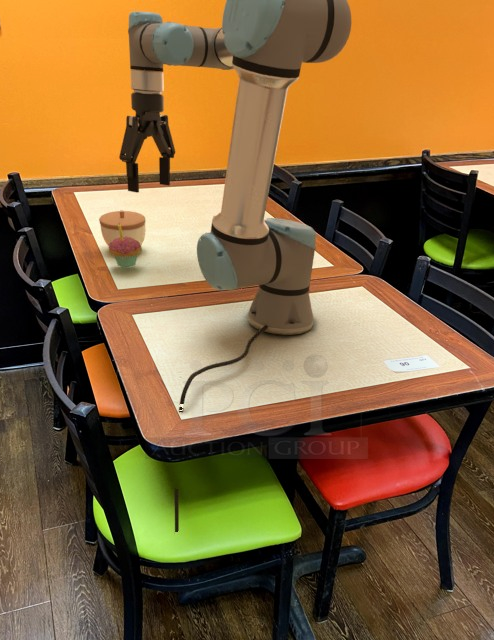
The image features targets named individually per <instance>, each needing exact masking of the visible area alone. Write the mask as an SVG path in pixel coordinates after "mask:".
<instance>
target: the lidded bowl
mask: <svg viewBox="0 0 494 640" xmlns="http://www.w3.org/2000/svg"><path fill="white" fill-rule="evenodd" d="M98 221H99V224H100V231H101V235H102V237H103V238H102V239H103V241H104V242H105V244H106V245H107V247H109V244H110V242H112V241H113V240H114V239H116V238H119V237H120V233H119V227H118V225H119V224H120V225H121V229H122V235H123V237H126V236H127V237H130V238H133V239H135V240H137V241H138V242H139V243H140V245H141V246H142V245H143V244H144V241H145V238H146V216H145V215H143V214H142V213H139V212H136V211H132V210H131V211H130V210H121V209H120V210H116V211H115V210H114V211H110V212H107V213H104V214H101V215H100V217H99V219H98ZM118 222H119V223H118Z"/></svg>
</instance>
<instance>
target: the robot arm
mask: <svg viewBox="0 0 494 640" xmlns="http://www.w3.org/2000/svg"><path fill="white" fill-rule="evenodd" d="M221 20H222V21H221V26H222V27H218V28H211V27H202V26H195V25H187V24H181V23H179V22H173V21H165V22H164V21H163V17H162V15H161V14H160V13H156V12H152V11H151V12H150V11H138V10H137V11H131V12H130V13H129V14H128V29H127V34H128V48H129V49H128V50H129V69H130V89H131V90H133V92H131V94H130V100H131V101H130V103H131V104H130V105H131V110H133V111H134V112H135V115H126V119H125V121H126V124H125V130H124V134H123V139H122V144H121V148H120V152H119V156H118V157H119V160H120V161H121V162H122V163H125V169H126V179H127V192H130V193H131V192H132V193H137V194H138V193H140V184H139V183H140V181H139V180H140V179H139V163H138V162H137V160H138V157H139V154H140V152H141V149H142V147H143V145H144V142H145V140H147V139H148V138H150V137H151V138H152V139H153V141H154V144H155V146H156V148H157V151H158V152H159V154H160V156H159V158H158V165H159V167H158V171H159V172H158V173H159V185H163V186H171V159H174V157H175V155H176V148H175V144H174V140H173V137H172V132H171V130H170V129H171V128H170V125H169V115H168V114H167V115H166V114H161V113H163V112H164V109H165V97H164V95H163V94H162V93H163V92H164V91H165V86H164V85H165V84H164V83H165V81H164V65H167V66H174V67H177V66H181V67H195V68H208V69H216V70H217V69H219V70H223V71H231V70H234V71H235V72H236V74H237V76H238V85H237V92H236V98H235V104H234V105H235V107H234V112H233V113H234V114H233V121H232V128H231V135H230V143H229V151H228V156H227V157H228V158H227V165H226V172H225V179H224V180H225V181H224V187H223V195H222V202H221V210H220V212H219V213H216V214H217V215H216V216H215V217H214V218H213V217H212V220H211V226H210V232H205V233H203V234H201V235H200V237H199V238H198V240H197V244H196V258H197V264H198V266H199V269H200V271H201V273H202V277H203V278H204V280H205V281H206V283H207V284H208V285H209V286H210V287H211V288H212V289H214V290H217V291H235V290H237V289H244V288H249V287H250V288H251V287H256V286H258V287H257V291H256V293H255V295H254V298H253V300H252V302H251V305H250V307H249V310H248V315H247V320H248V324H249V325H251V326H252V327H254V328H255V329H257V330H258V331H257V332H256V333H254V335H253V336H251V338H250V339H249V340H248V341H247V344H246V346H245V349H244V352H243V353H242V354H240V355H239V356H237V357H235V358H233V359H230V360H226V361H221V362H216V363H213V364H209V365H207V366H204V367H201V368H200V369H198V370H196V371H194V372H193V373H191V374H190V375H189V377H187V379H186V382H185V384H184V387H183V388H182V391H181V395H180V398H179V399H180V400H179V405H180V404H184V405H185V401H186V396H187V393H188V390H189V389H190V386H191V383H192V381H193V380H194V379H195V378H196V377H197V376H199V375H201V374H203V373H204V372H206V371H209V370H213V369H216V368H220V367H226V366H230V365H233V364H236V363H238V362H240V361H242V360H244V359H245V358H246V357H247V356H248V354H249V351H250V349H251V348H250V347H251V346H252V344H253V342H254V341H255V340H256V339H257V338H258V337H260V336H261V334H262V333H264V332H265V333H268V334H273V335H280V336H292V335H293V336H294V335H300V334H304V333H306V332H308V331H310V330H311V329H312V327H313V323H314V313H313V308H312V303H311V297H310V286H311V281H312V279H311V278H312V272H313V265H314V259H315V252H316V249H317V247H316V239H317V234H316V231H315V229H314V228H313V227H312V226H309V225H308V224H304V223H302V222H298V221H295V220H291V219H286V218H285V219H284V218H277V217H268V218H265V214H266V209H267V203H268V199H269V192H270V188H271V181H272V176H273V171H274V165H275V161H276V154H277V150H278V145H279V138H280V134H281V127H282V123H283V118H284V112H285V107H286V101H287V96H288V91H289V88H290V87H291V86H292V85H293V84H294V83H295V82H296V81H298V80H299V79H300V75H301V69H302V64H304V63H306V64H320V63H325V62H328V61H330V60H332V59H334V58H335V57H336V56H338V55H339V54H340V53H341V52H342V51H343V50H344V48H345V46H346V45H347V42H348V40H349V37H350V34H351V30H352V23H353V22H352V12H351V8H350V5H349V2H348V0H226V1H225V3H224V8H223V14H222V19H221ZM182 409H183V411H179V410H182ZM180 412H182V413H183V412H184V408H182V407H179V406H178V413H180ZM173 491H174V494H173V495H174V533H175V532H178V531H179V532H180V530H179V529H180V528H179V527H180V524H179V523H180V520H179V519H180V518H179V517H180V509H179V506H180V505H179V504H180V503H179V500H180V499H179V497H180V495H179V489H178V488H177V487H174V490H173Z"/></svg>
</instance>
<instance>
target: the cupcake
mask: <svg viewBox="0 0 494 640" xmlns="http://www.w3.org/2000/svg"><path fill="white" fill-rule="evenodd" d="M118 223H119V222H118ZM118 227H119V233H120V237H119V238H116V239H114V240H113V241H112V242H110V244H109V246H108V251H109V253H110V255H112V256H113V257H114V260H115V261H116V264H117V266H118V267H120V268H125V269H126V268H132V267H135V266H136V265H137V260H138V257H139V254H140V253H141V252H142V245H140V243H139V242H138V241H137V240H135V239H133V238H130V237H127V236H126V237H123V235H122V229H121V225H120V224H119V225H118Z"/></svg>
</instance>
